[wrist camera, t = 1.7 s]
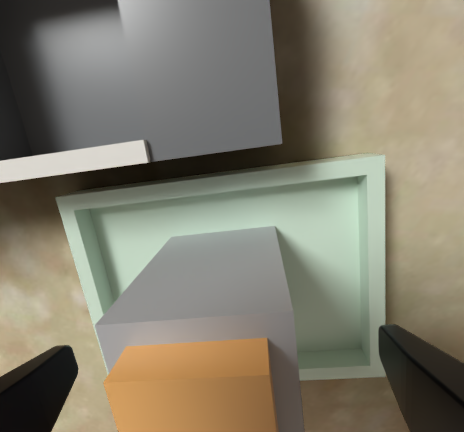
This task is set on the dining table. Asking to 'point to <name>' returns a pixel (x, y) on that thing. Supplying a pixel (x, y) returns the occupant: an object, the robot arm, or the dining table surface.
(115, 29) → the grey long block
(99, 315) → the tray
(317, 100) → the dining table surface
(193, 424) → the plug
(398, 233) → the dining table surface
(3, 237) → the dining table surface
